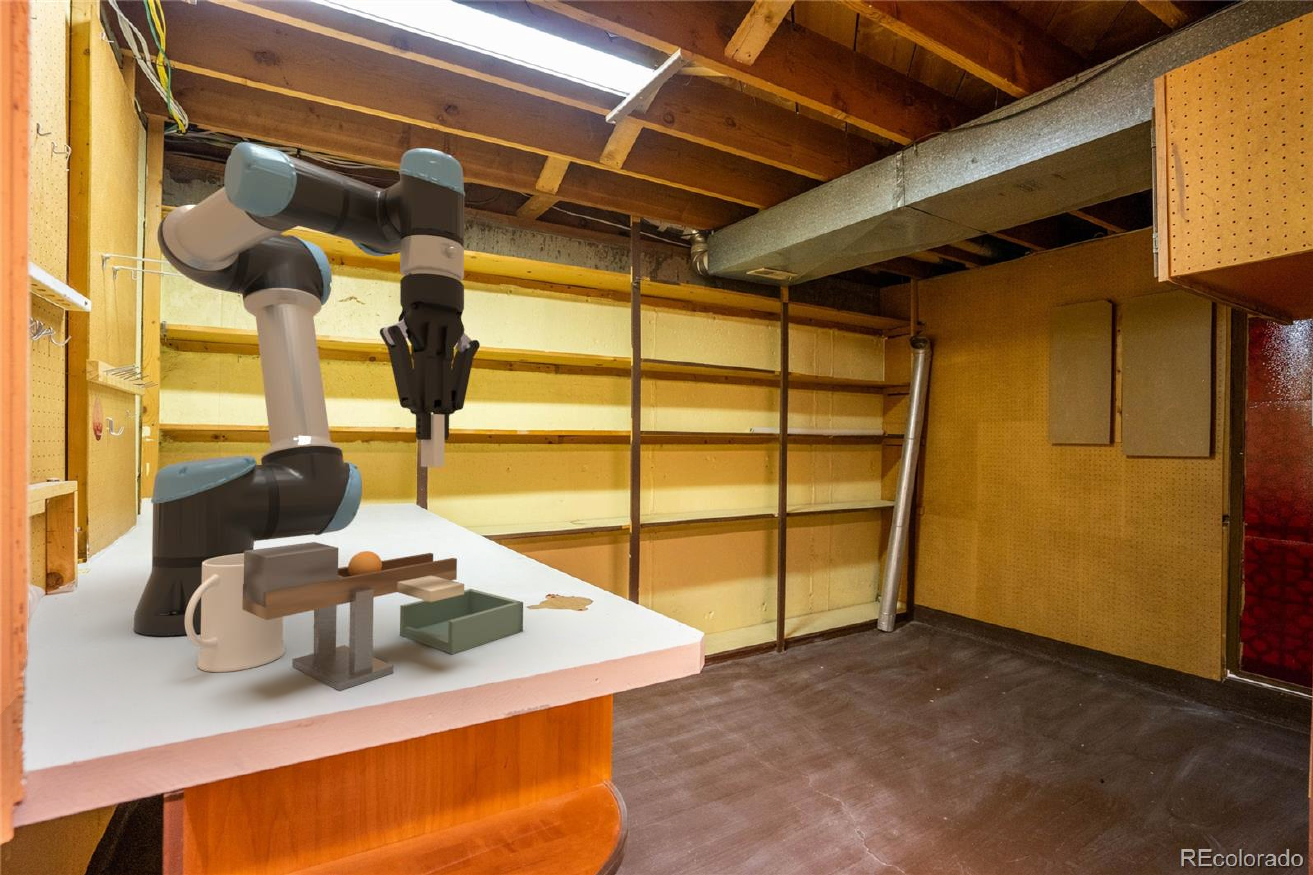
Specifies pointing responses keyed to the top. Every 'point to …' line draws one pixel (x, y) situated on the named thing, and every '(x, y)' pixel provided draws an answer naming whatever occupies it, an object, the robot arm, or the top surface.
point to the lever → (335, 579)
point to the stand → (344, 646)
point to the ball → (364, 563)
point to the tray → (461, 620)
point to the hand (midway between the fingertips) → (432, 466)
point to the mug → (230, 621)
